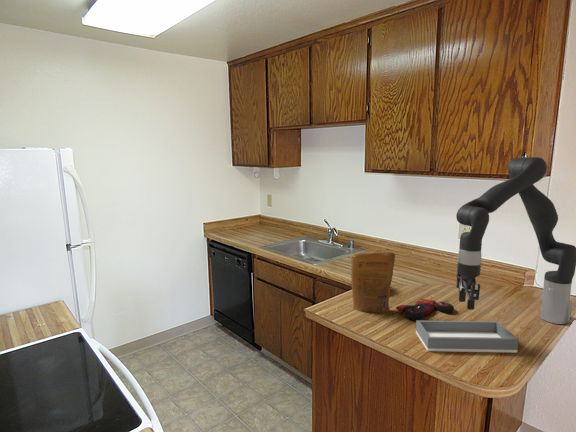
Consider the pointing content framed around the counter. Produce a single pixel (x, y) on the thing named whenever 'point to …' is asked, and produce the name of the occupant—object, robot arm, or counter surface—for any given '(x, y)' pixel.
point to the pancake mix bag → (372, 281)
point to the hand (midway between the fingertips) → (466, 305)
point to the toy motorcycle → (424, 308)
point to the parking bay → (466, 336)
